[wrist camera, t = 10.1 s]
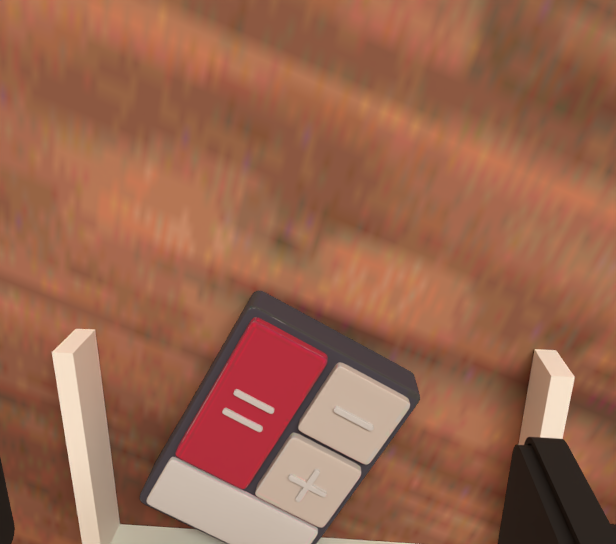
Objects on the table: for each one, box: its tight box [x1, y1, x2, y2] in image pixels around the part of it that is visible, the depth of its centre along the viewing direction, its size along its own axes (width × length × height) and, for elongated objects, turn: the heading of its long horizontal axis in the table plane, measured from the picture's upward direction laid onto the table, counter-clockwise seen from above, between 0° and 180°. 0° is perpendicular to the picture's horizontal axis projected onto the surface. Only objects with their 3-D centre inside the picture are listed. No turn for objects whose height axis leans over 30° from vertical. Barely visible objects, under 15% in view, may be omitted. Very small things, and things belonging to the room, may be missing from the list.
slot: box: [52, 329, 575, 544], centre depth 36 cm, size 28×16×3 cm, turn 89°
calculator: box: [140, 291, 420, 544], centre depth 35 cm, size 11×4×15 cm
